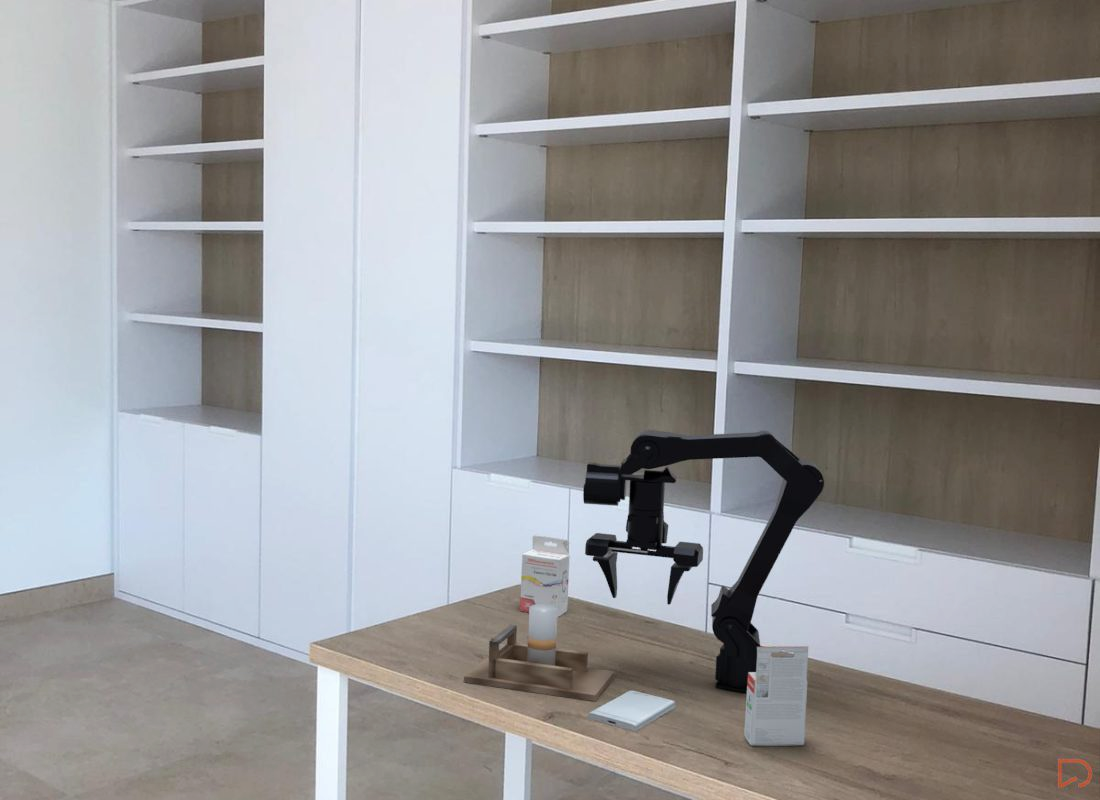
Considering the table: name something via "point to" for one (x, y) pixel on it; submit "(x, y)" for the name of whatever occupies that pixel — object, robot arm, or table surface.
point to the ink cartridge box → (545, 574)
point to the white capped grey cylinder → (542, 634)
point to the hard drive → (632, 710)
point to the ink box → (777, 698)
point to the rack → (538, 671)
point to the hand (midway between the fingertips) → (641, 600)
